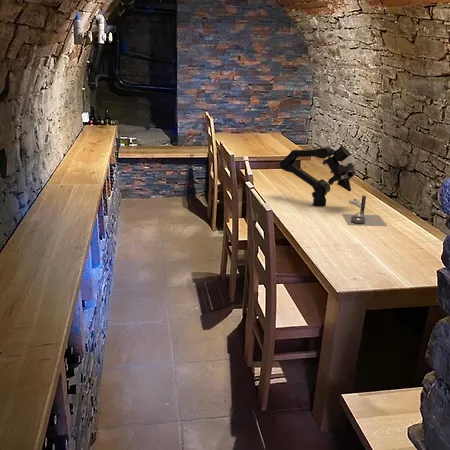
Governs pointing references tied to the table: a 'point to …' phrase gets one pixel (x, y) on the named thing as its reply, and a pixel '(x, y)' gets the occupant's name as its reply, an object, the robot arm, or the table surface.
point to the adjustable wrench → (357, 203)
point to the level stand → (366, 220)
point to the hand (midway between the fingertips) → (350, 190)
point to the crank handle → (359, 216)
